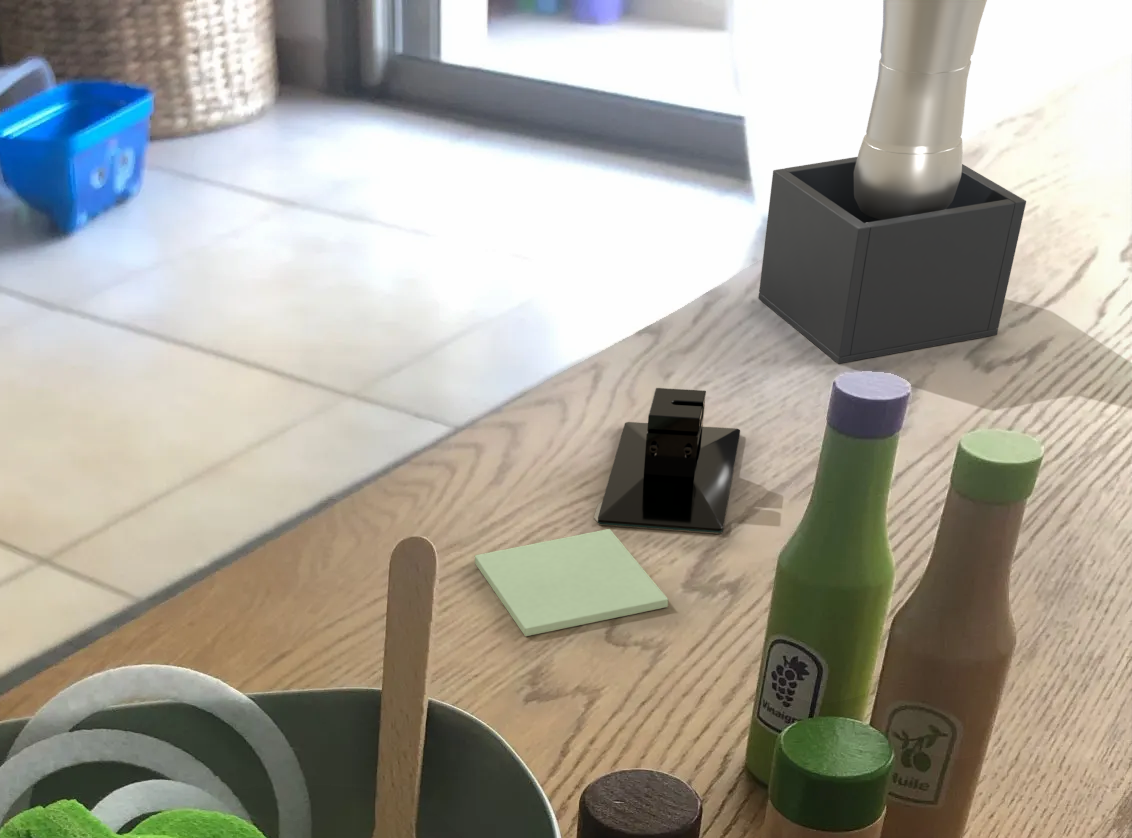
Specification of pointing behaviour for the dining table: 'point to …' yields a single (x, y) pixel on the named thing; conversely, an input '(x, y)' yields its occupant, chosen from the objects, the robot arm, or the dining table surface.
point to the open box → (886, 263)
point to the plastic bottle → (917, 108)
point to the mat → (569, 582)
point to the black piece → (671, 469)
